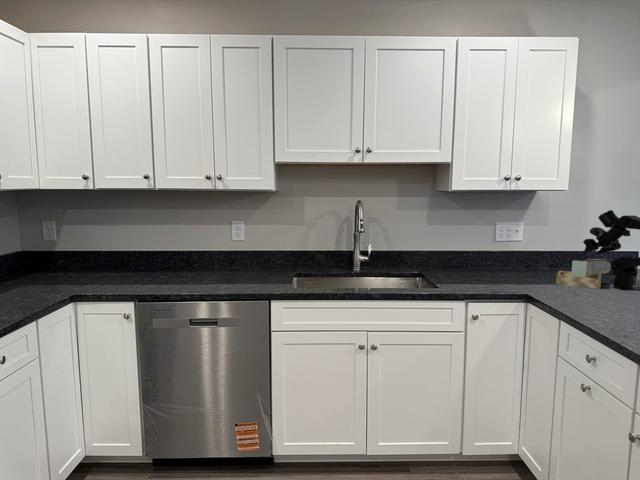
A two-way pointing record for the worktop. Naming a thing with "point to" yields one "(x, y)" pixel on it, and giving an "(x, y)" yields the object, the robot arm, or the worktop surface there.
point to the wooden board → (578, 280)
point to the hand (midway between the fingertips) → (590, 254)
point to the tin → (598, 266)
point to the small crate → (579, 268)
